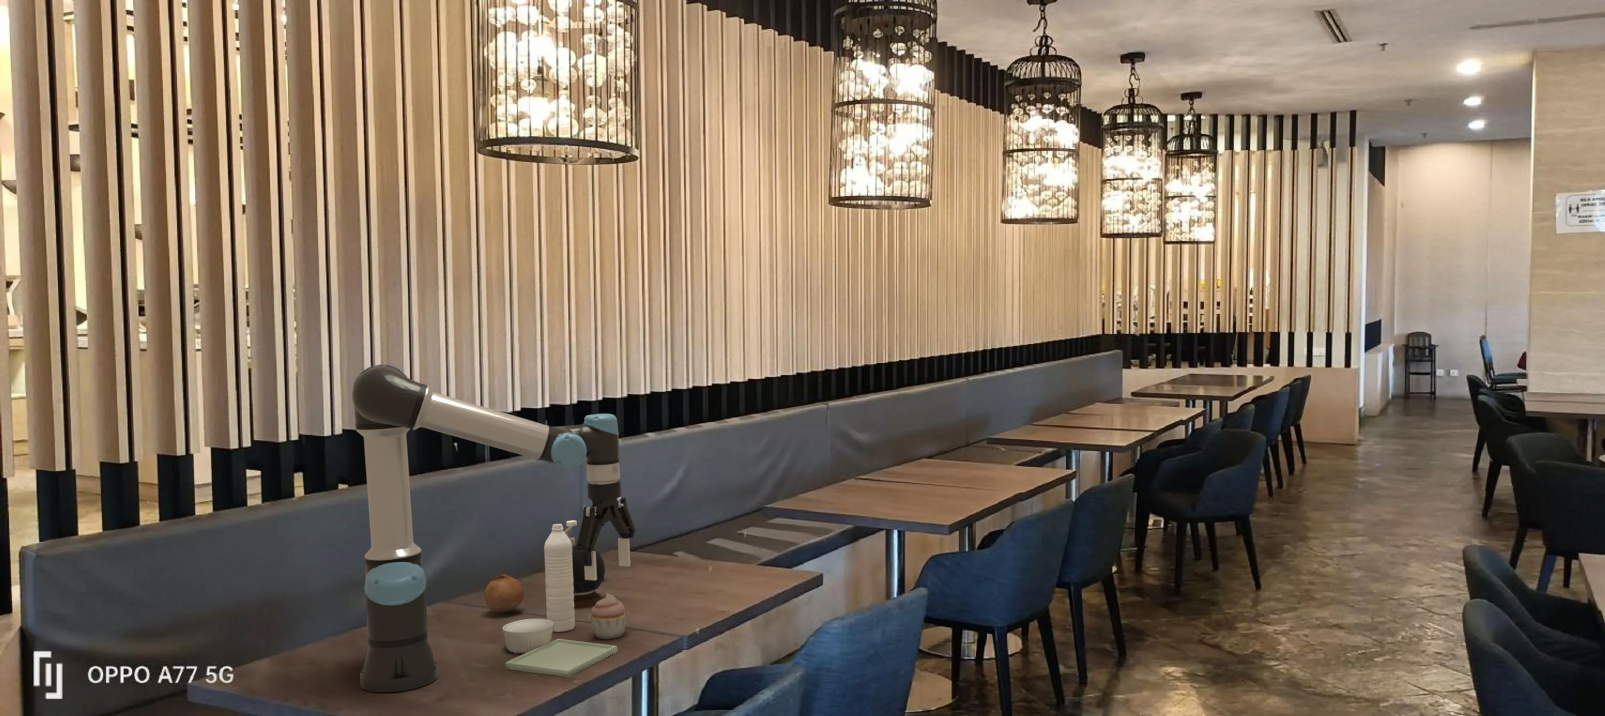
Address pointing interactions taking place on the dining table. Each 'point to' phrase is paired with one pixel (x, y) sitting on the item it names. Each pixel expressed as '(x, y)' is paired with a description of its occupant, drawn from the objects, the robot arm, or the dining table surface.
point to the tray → (561, 657)
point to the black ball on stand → (586, 588)
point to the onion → (504, 594)
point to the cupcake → (608, 618)
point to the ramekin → (527, 634)
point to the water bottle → (559, 579)
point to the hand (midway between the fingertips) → (608, 572)
